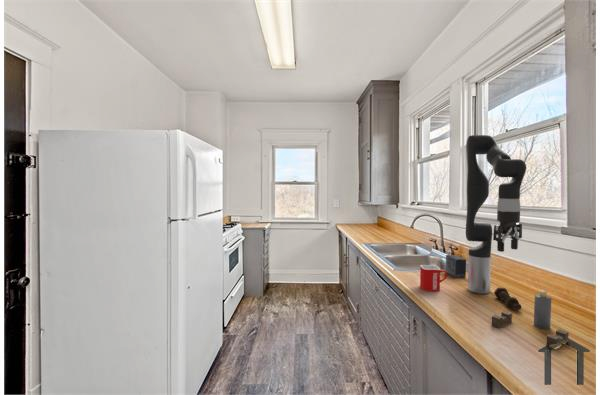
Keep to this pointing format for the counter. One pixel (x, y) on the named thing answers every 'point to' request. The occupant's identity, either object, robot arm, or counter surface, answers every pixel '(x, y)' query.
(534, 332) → the counter surface
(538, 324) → the grey cylindrical bottle
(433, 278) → the mug
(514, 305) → the dark brown lumpy bar
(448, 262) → the small box
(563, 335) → the notched blocks
